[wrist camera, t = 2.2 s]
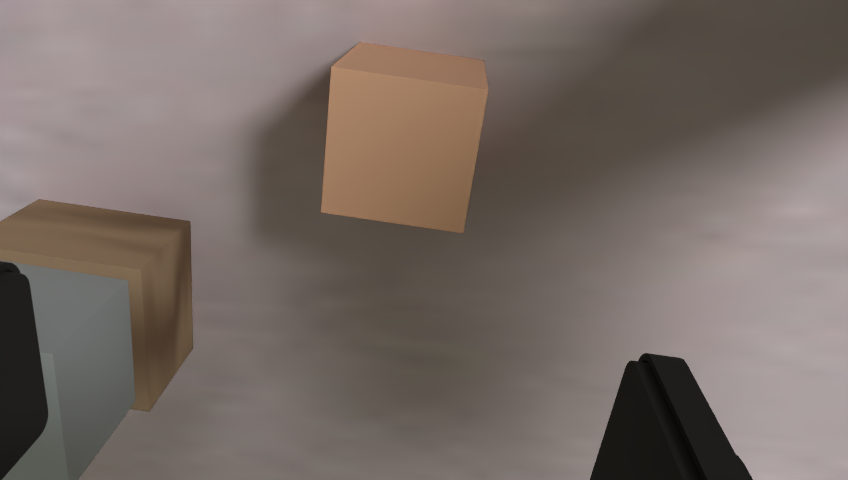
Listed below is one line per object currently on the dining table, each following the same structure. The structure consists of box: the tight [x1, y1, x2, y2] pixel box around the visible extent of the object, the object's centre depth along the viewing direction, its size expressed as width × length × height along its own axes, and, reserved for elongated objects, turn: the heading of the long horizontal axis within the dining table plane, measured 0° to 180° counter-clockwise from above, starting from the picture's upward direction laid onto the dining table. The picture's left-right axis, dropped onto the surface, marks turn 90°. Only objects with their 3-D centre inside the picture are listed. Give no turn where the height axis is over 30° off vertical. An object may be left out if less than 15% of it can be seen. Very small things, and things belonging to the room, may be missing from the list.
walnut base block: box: [0, 199, 193, 412], centre depth 29 cm, size 7×7×5 cm
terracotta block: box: [321, 42, 488, 233], centre depth 24 cm, size 5×5×6 cm
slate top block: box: [0, 260, 135, 480], centre depth 24 cm, size 6×6×5 cm
